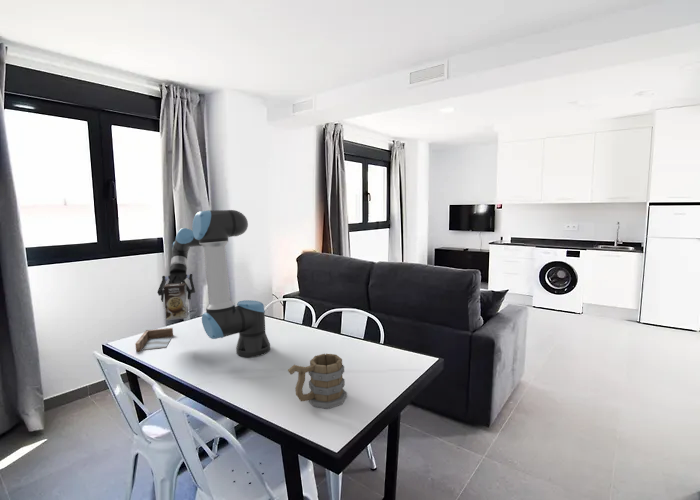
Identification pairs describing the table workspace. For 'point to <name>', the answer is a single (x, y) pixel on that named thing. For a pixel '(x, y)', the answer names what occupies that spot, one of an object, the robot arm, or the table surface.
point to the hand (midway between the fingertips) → (175, 306)
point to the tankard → (322, 381)
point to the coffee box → (175, 301)
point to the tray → (154, 342)
